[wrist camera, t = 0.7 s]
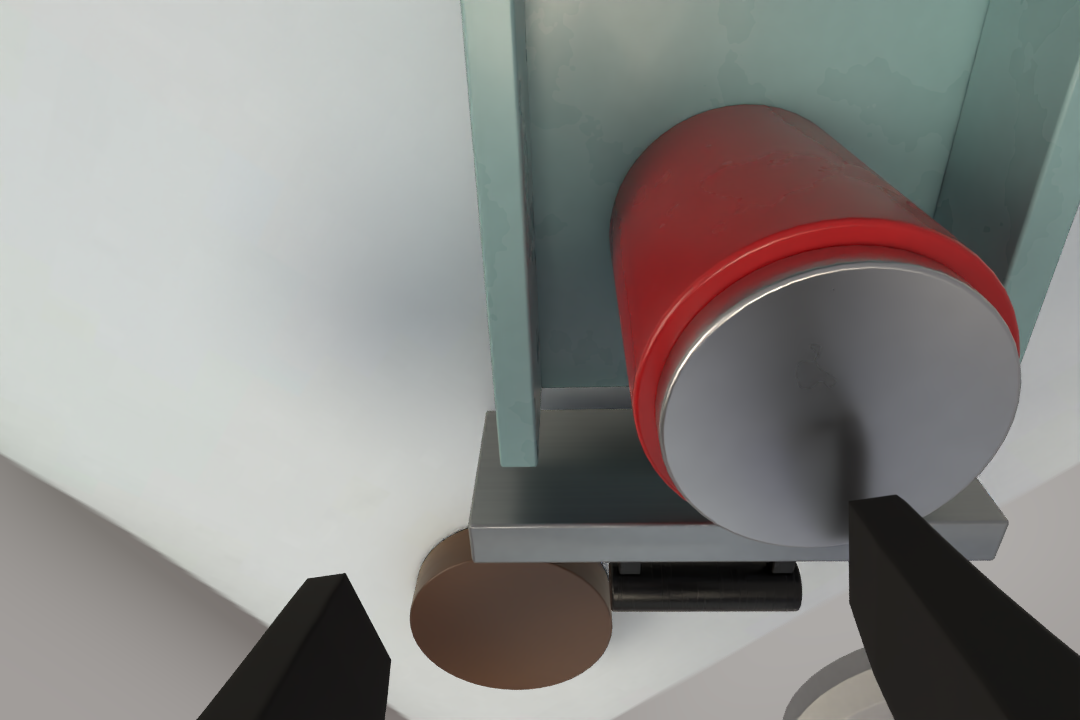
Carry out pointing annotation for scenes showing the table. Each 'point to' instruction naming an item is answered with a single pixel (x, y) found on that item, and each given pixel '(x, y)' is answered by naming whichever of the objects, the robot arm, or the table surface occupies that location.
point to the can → (801, 330)
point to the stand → (509, 617)
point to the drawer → (611, 150)
